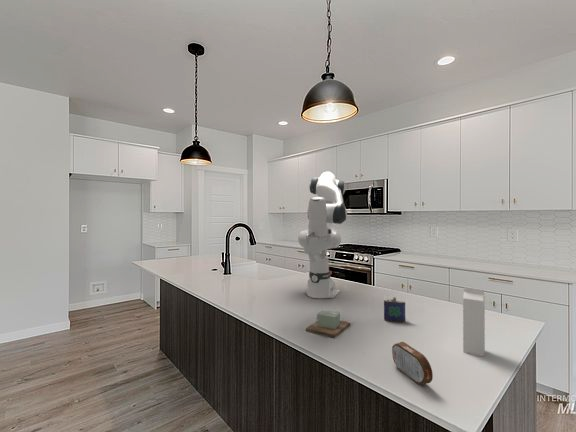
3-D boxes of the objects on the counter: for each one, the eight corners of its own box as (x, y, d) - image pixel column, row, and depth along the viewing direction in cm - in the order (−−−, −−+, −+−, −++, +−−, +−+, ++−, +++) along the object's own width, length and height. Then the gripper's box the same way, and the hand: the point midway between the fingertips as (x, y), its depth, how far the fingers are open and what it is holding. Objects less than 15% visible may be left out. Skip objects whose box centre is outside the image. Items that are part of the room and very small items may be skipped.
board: (323, 319, 136) (323, 316, 136) (350, 325, 129) (350, 322, 129) (305, 330, 123) (305, 327, 123) (334, 338, 116) (334, 335, 116)
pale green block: (322, 321, 131) (322, 309, 130) (339, 324, 127) (339, 311, 127) (317, 325, 125) (317, 313, 125) (335, 329, 121) (335, 316, 121)
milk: (465, 346, 108) (464, 285, 108) (485, 350, 105) (484, 288, 105) (463, 352, 103) (462, 289, 103) (483, 357, 100) (483, 291, 100)
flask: (405, 320, 134) (405, 297, 134) (405, 322, 131) (405, 298, 131) (383, 318, 137) (383, 295, 136) (384, 321, 134) (383, 297, 134)
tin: (433, 389, 82) (433, 359, 82) (424, 391, 81) (424, 360, 81) (398, 363, 96) (398, 337, 96) (390, 364, 95) (390, 338, 95)
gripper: (312, 234, 129) (313, 265, 130) (333, 229, 146) (333, 257, 147) (300, 233, 133) (301, 264, 134) (321, 229, 150) (322, 256, 151)
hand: (318, 260), depth 141 cm, fingers open, 8 cm apart
